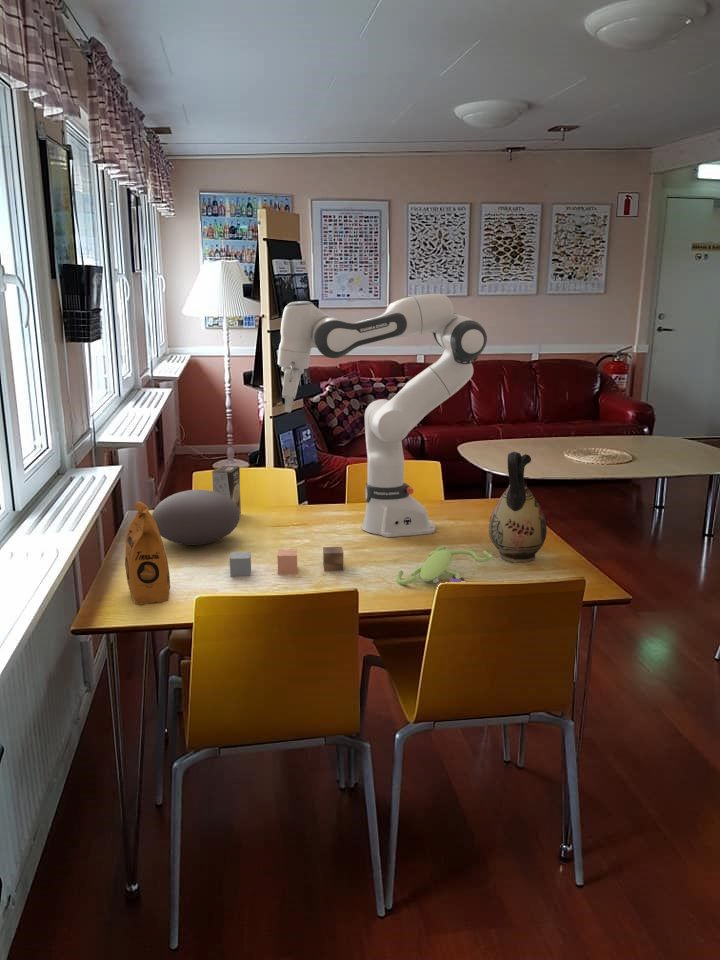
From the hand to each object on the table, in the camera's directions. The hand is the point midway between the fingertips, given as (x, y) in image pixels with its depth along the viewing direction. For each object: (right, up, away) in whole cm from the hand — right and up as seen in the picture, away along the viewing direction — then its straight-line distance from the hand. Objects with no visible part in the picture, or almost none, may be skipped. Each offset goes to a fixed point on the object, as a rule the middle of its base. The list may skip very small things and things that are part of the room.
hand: (288, 408), depth 216 cm
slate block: (-10, -45, -20) cm, 50 cm away
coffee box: (-22, -33, +29) cm, 49 cm away
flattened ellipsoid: (-27, -39, +5) cm, 47 cm away
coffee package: (-30, -48, -35) cm, 67 cm away
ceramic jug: (+63, -42, -8) cm, 76 cm away
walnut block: (+13, -44, -16) cm, 48 cm away
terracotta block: (+1, -44, -18) cm, 48 cm away
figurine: (+43, -45, -20) cm, 65 cm away
